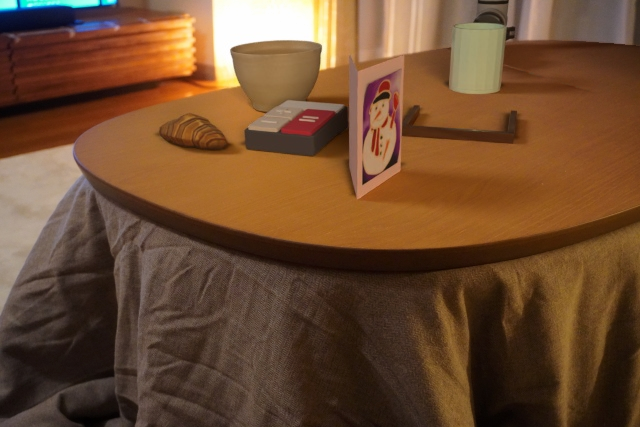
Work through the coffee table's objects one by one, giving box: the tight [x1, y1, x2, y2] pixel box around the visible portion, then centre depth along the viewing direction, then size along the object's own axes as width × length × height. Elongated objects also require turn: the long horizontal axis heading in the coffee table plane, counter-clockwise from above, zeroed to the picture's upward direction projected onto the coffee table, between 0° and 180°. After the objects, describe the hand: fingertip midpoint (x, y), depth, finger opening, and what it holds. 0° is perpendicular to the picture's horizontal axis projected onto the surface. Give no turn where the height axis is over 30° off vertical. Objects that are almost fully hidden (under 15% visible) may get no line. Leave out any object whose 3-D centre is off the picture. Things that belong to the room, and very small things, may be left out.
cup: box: [448, 22, 508, 95], centre depth 121 cm, size 10×10×12 cm
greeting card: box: [348, 52, 405, 201], centre depth 75 cm, size 11×7×15 cm, turn 147°
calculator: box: [243, 100, 349, 157], centre depth 95 cm, size 11×4×15 cm
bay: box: [402, 104, 518, 144], centre depth 99 cm, size 14×17×2 cm
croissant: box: [158, 112, 228, 151], centre depth 92 cm, size 14×7×5 cm, turn 54°
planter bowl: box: [229, 39, 323, 113], centre depth 111 cm, size 16×16×11 cm
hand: (480, 43), depth 127 cm, fingers closed
